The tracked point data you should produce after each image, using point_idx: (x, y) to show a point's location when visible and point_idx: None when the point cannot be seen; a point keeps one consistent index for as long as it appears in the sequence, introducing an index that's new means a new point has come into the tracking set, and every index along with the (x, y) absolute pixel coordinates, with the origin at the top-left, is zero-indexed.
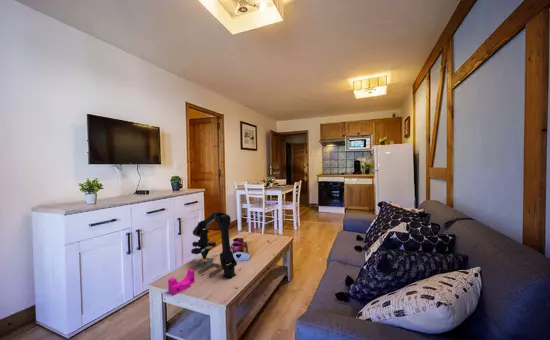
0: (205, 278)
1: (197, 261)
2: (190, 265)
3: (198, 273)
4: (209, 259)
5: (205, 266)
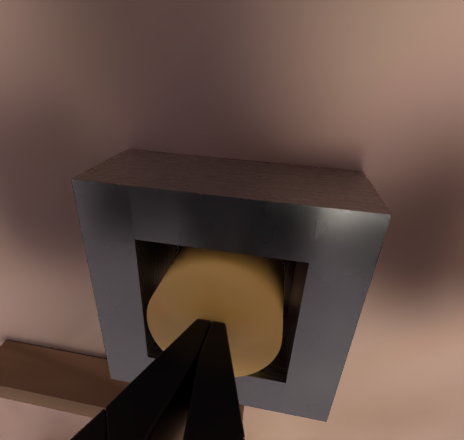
0: (15, 424)
1: (81, 220)
2: (51, 20)
3: (2, 346)
4: (277, 391)
5: (87, 403)
